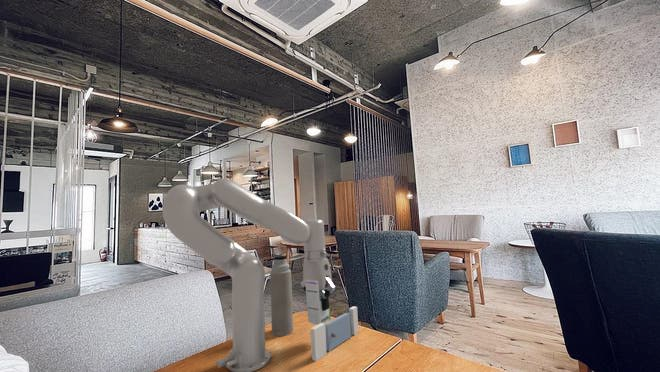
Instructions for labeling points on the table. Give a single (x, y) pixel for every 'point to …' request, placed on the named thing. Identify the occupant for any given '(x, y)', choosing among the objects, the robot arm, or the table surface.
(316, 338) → the wall
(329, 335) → the door
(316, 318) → the syrup box
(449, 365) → the table surface
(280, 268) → the thermos bottle
